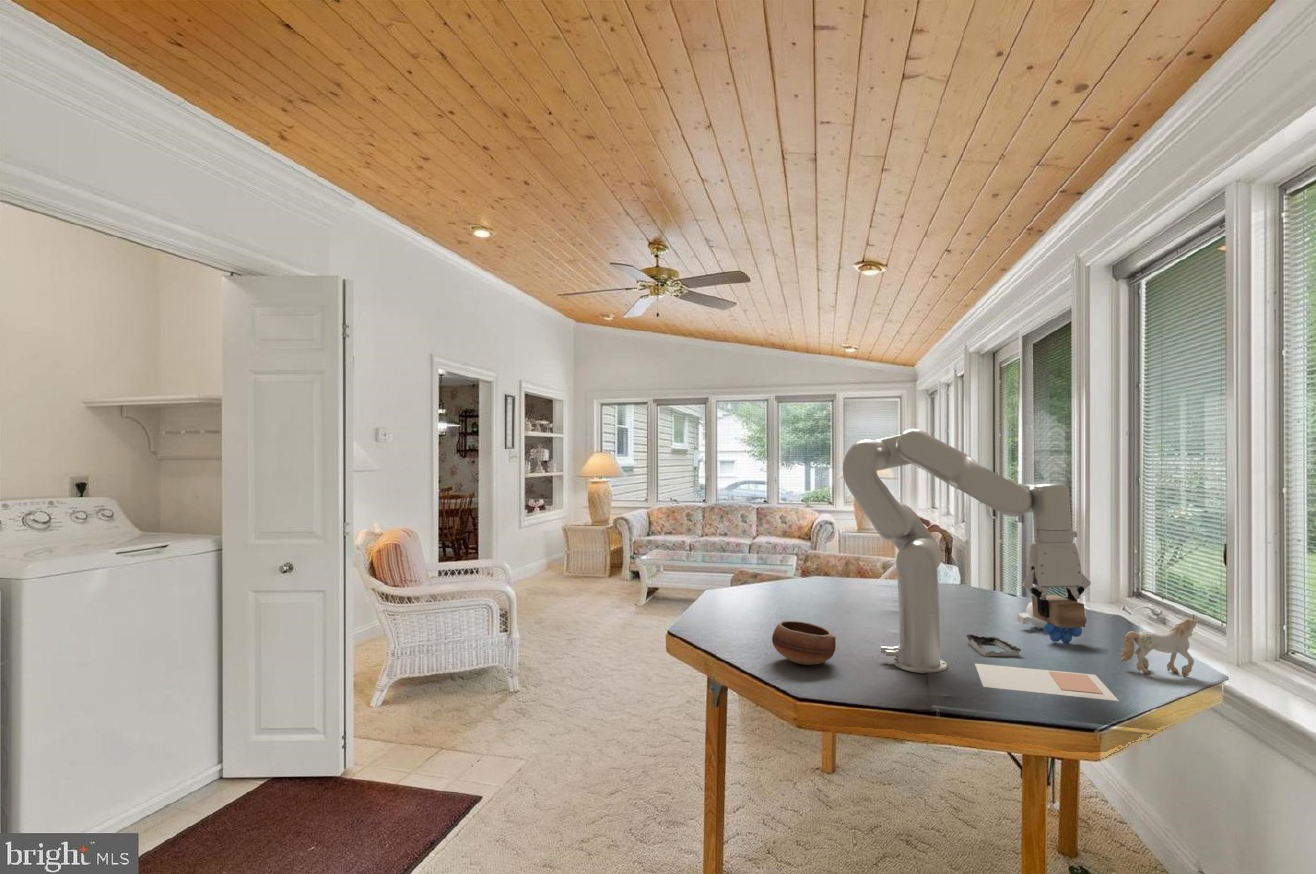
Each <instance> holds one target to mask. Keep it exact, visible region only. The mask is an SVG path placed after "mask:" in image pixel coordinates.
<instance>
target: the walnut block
mask: <svg viewBox="0 0 1316 874" xmlns="http://www.w3.org/2000/svg"><path fill="white" fill-rule="evenodd" d="M1031 599H1032V600H1031V602H1032V606H1033V617H1036V618H1038V619H1041V620H1043V621H1046V622H1048V623H1050V624H1053V625H1055V626H1058V627H1060V628H1062V627H1081V628H1086V624H1085V617H1086V616H1085V612H1086V611H1085V604H1084V603H1081V602H1079V601H1077V602H1076V601H1073V600H1070V599H1067V598H1066V597H1064V596H1061V595H1057V594H1047V596H1046V600H1048V604H1049V618H1045V617H1043V616H1041V615H1039V612H1038V606H1037V598H1036V597H1035V596H1034V595H1033V594H1031Z"/></svg>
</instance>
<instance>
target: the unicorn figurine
mask: <svg viewBox="0 0 1316 874" xmlns="http://www.w3.org/2000/svg"><path fill="white" fill-rule="evenodd" d="M1198 623H1199V620H1198V619H1196V620H1195V613H1192V615H1191V617H1188V616H1186V617H1185V619H1184V620H1183V621H1181V622H1180V623H1177V624H1175V626H1174V627H1172V628H1171V629H1169V630H1168V631H1165V632H1163V633H1157V632H1151V631H1141V632H1137V631H1133V630H1131V631H1128V632H1127V633H1126V635H1124V639H1123V648H1120V650H1121V651H1122V652H1121V654H1120V656H1121V657H1120V660H1119V662H1120V663H1123V662H1126V661H1130V660H1131V659H1132V658H1133V656H1134V654H1135V655H1136V656H1137V657H1136V658H1137V663H1136V669H1137V671H1138V672H1142V673H1143V674H1145V675H1150V674H1151V673H1150V671H1149V664H1150V663H1149V660H1148V659H1147V658H1146V656H1147V655H1148V654H1150V652H1151V651H1153V650H1155V651H1157V652H1162V653H1167V654H1169V653H1170V659H1169V660H1170V661H1169V662H1168V663H1167V664H1166V669H1167V672H1170V671H1171V672H1172V673H1174V674H1176V673H1177V674H1178V673H1179V670H1178V668H1177V667H1175V660H1176V658H1177V655H1178V654H1179V655H1181V656H1182V657H1184V658H1185V659H1186V660H1187V661H1188V663H1187V664H1185V665H1183V666H1182V667H1181V675H1182V676H1183V677H1184V678H1186V677H1188V676H1190V673H1191V672H1192V670H1193V666H1194V663H1195V660H1194V658H1193V657H1192V655H1191V654H1190V653H1189V652H1188V650H1189V649H1190V642H1189V638H1190V637H1192V636H1193V635H1194V634H1193V632H1194V629H1195V628H1196V625H1197V624H1198ZM1135 644H1136V645H1137V646H1138V647H1137V649H1136V650H1135Z"/></svg>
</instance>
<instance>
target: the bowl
mask: <svg viewBox="0 0 1316 874" xmlns="http://www.w3.org/2000/svg"><path fill="white" fill-rule="evenodd" d="M771 639H772V641H771V642H772V645H773V647H774V649H775V650H776V651H777V652H778V653H779V654H780V655H781V656H782V657H784V658H786V659H788V661H791V662H793V663H795V664H799V665H804V666H815V665H819V664H822V663H825V662H827V661H828V660H830V659H831V658H832V657H833V655H834V654H835V652H836V646H837V645H836V644H837V643H836V636H835V635H833V633H832V632H831V631H830V630H828V629H827V628H825V627H822V626H820V625H817V624H814V623H810V622H804V621H795V620H784V621H780V622H779V623H778V624H777V625H776V627H775V628H774V631H773V633H772V637H771Z"/></svg>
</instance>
